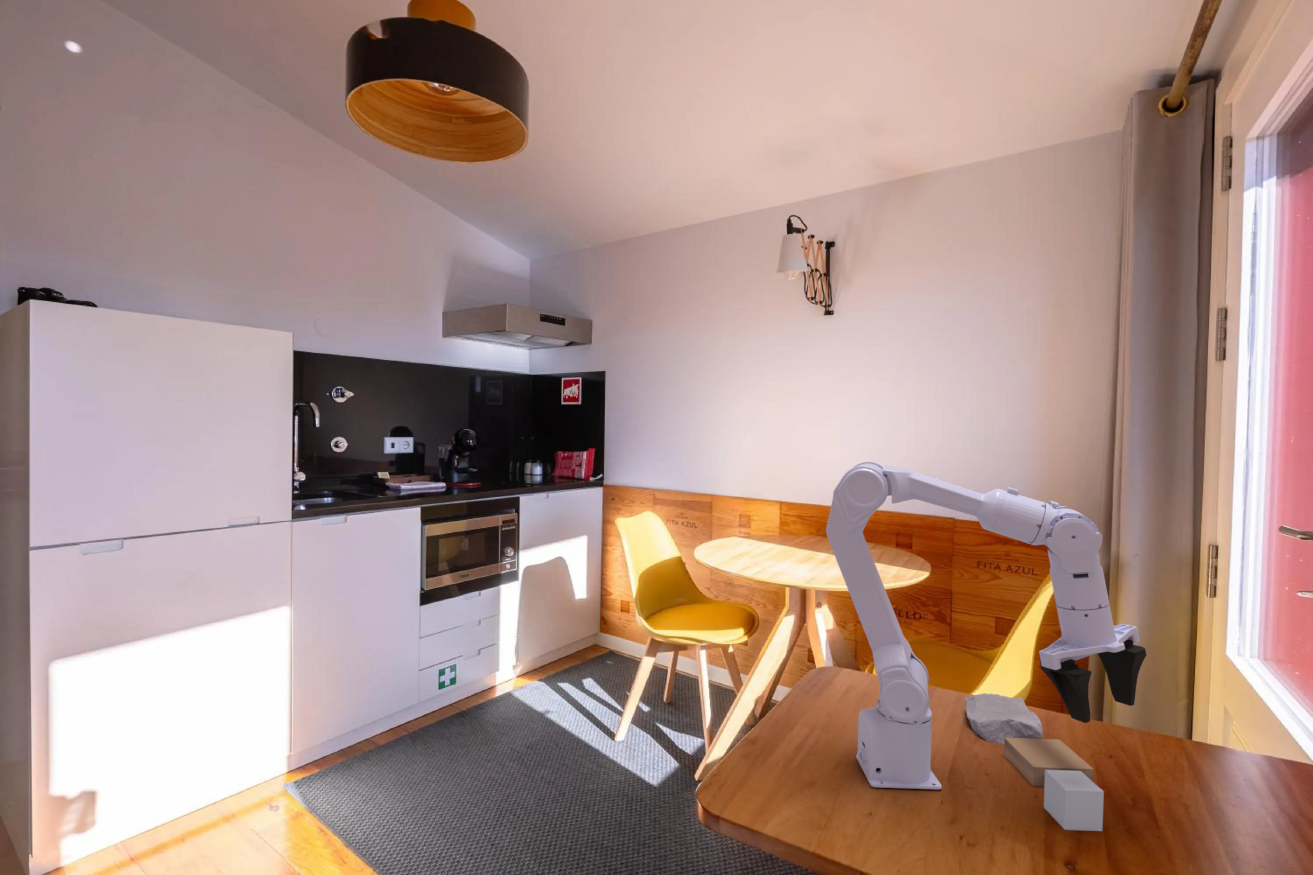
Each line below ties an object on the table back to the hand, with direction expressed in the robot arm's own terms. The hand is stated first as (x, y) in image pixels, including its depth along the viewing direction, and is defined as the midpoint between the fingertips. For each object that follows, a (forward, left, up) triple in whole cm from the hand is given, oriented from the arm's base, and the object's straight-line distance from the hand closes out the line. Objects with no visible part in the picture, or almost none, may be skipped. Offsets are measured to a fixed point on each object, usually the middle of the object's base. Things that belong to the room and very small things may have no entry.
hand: (1102, 711), depth 80 cm
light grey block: (-4, -1, -14) cm, 14 cm away
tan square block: (-1, +10, -14) cm, 17 cm away
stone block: (-1, +23, -14) cm, 27 cm away
